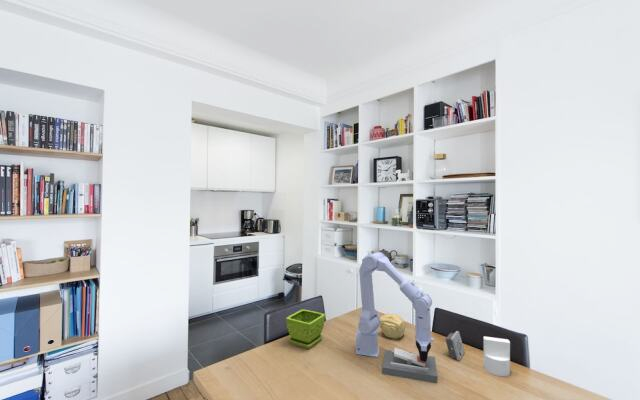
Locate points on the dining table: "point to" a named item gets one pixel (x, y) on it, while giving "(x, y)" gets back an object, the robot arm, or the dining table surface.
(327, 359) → the dining table surface
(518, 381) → the dining table surface
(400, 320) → the sculpture
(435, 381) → the switch panel
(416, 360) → the rocker paddle
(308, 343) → the flower pot
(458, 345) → the grey stone block
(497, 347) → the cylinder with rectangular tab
